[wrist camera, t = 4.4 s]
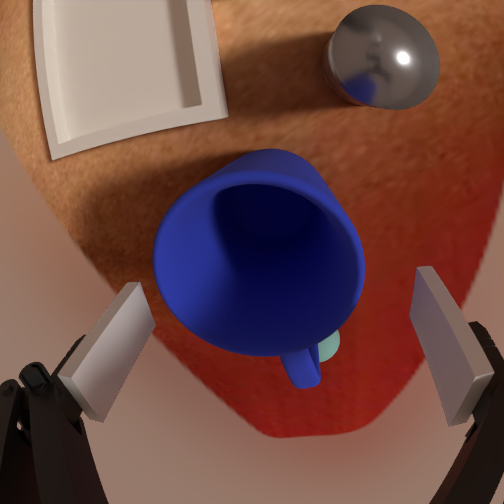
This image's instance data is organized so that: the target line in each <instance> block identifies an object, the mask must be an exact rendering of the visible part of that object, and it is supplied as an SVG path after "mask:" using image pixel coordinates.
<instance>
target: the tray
mask: <svg viewBox="0 0 504 504" xmlns="http://www.w3.org/2000/svg"><path fill="white" fill-rule="evenodd" d="M33 29H34V47H35V59H36V69H37V78H38V86H39V93H40V100H41V107H42V113H43V118H44V124H45V129H46V134H47V139H48V144H49V148H50V153H51V157H52V160H55V159H58V158H61V157H64V156H67V155H70V154H73V153H76V152H80V151H83V150H86V149H89V148H93V147H96V146H100V145H103V144H107V143H110V142H114V141H118V140H122V139H125V138H129V137H133V136H137V135H141V134H146V133H150V132H154V131H159V130H163V129H168V128H173V127H178V126H183V125H188V124H193V123H199V122H205V121H211V120H217V119H222V118H226V117H229V115H228V108H227V102H226V95H225V89H224V82H223V76H222V69H221V63H220V56H219V49H218V43H217V36H216V30H215V23H214V16H213V10H212V3H211V0H33Z"/></svg>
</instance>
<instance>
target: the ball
mask: <svg viewBox="0 0 504 504" xmlns="http://www.w3.org/2000/svg"><path fill="white" fill-rule="evenodd" d="M339 342H340V337H339V332H338V330H337V331H335V332H334V333H333V334H332V335H331V336H329V337H328V338H326V339H325V340H323V341H322V342H320V343H318V349H319V361H320V362H323V361H326V360H328V359H329V358H331V357H332V356H333V355H334V354H335V352H336V351H337V349H338V346H339Z"/></svg>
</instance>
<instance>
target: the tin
mask: <svg viewBox="0 0 504 504" xmlns="http://www.w3.org/2000/svg"><path fill="white" fill-rule="evenodd" d="M321 68H322V73H323V76H324V79H325V81H326V83H327V84H328V86H329V87H330V88H331V90H332V91H333V92H334V93H335V94H336V95H338V96H339V97H340V98H342V99H344V100H345V101H347V102H350V103H353V104H356V105H362V106H370V107H377V108H383V109H391V110H402V109H407V108H411V107H414V106H416V105H418V104H420V103H421V102H423V101H424V100H425V99H426V98H427V97H428V96H429V95H430V94H431V93H432V91H433V90H434V88H435V86H436V84H437V81H438V77H439V71H440V62H439V55H438V51H437V48H436V45H435V43H434V41H433V39H432V37H431V36H430V34H429V33H428V31H427V30H426V29H425V28H424V27H423V25H422V24H421V23H420V22H418V21H417V20H416V19H415V18H414V17H412V16H411V15H409V14H408V13H406V12H404V11H402V10H400V9H397V8H394V7H390V6H385V5H368V6H364V7H360V8H358V9H356V10H354V11H352V12H351V13H349V14H348V15H347V16H346V17H345V18H344V19H343V20H342V21H341V22H340V24H339V25H338V27H337V29H336V30H335V32H334V33H333V35H332V37H331V38H330V40H329V41H328V43H327V45H326V46H325V48H324V51H323V53H322V58H321Z"/></svg>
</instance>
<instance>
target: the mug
mask: <svg viewBox="0 0 504 504" xmlns="http://www.w3.org/2000/svg"><path fill="white" fill-rule="evenodd" d="M153 271H154V276H155V280H156V283H157V286H158V289H159V291H160V294H161V296H162V298H163V299H164V301H165V303H166V305H167V306H168V308H169V309H170V310H171V312H172V313H173V314H174V316H175V317H176V318H177V319H178V320H179V321H180V322H181V323H182V324H183V325H184V326H185V327H186V328H187V329H189V330H190V331H191V332H192V333H194V334H195V335H197V336H198V337H200V338H201V339H203V340H205V341H206V342H208V343H210V344H212V345H214V346H217V347H219V348H222V349H224V350H227V351H230V352H234V353H238V354H243V355H250V356H263V357H267V356H280V358H281V361H282V364H283V366H284V368H285V370H286V372H287V375H288V377H289V379H290V380H291V382H292V384H293V385H294V386H295V387H296V388H301V389H302V388H309V387H314V386H316V385H318V384H319V383H320V380H321V374H320V361H319V349H318V343H320V342H322V341H323V340H325V339H326V338H328V337H329V336H331V335H332V334H333V333H334V332H335V331H337V330H338V329H339V328H340V327H341V326H342V325H343V324H344V322H345V321H346V320H347V319H348V318H349V316H350V315H351V313H352V312H353V310H354V308H355V306H356V304H357V302H358V300H359V298H360V295H361V292H362V288H363V283H364V275H365V260H364V254H363V249H362V245H361V242H360V239H359V236H358V234H357V231H356V229H355V227H354V226H353V224H352V222H351V221H350V219H349V217H348V216H347V214H346V213H345V211H344V210H343V208H342V207H341V205H340V204H339V202H338V201H337V199H336V198H335V196H334V195H333V193H332V192H331V190H330V189H329V188H328V186H327V185H326V183H325V182H324V180H323V179H322V177H321V176H320V175H319V173H318V172H317V171H316V169H315V168H314V167H313V166H312V165H311V164H310V163H308V162H307V161H306V160H304V159H303V158H301V157H300V156H298V155H296V154H293V153H291V152H288V151H284V150H279V149H261V150H256V151H253V152H250V153H247V154H245V155H243V156H241V157H239V158H238V159H236V160H234V161H233V162H231V163H229V164H228V165H226V166H225V167H223V168H221V169H220V170H218V171H216V172H215V173H213V174H212V175H210V176H208V177H207V178H205V179H204V180H202V181H201V182H199V183H197V184H196V185H194V186H193V187H191V188H190V189H188V190H187V191H186V192H185V193H183V194H182V195H181V196H180V197H179V198H178V199H177V200H176V201H175V202H174V203H173V204H172V206H171V207H170V208H169V210H168V211H167V212H166V214H165V215H164V217H163V219H162V221H161V223H160V225H159V227H158V230H157V233H156V236H155V240H154V245H153Z"/></svg>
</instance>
